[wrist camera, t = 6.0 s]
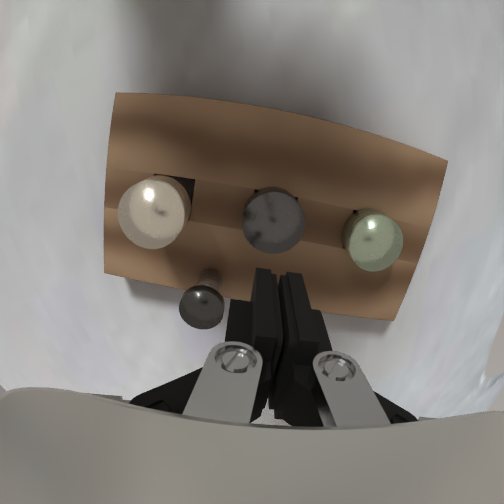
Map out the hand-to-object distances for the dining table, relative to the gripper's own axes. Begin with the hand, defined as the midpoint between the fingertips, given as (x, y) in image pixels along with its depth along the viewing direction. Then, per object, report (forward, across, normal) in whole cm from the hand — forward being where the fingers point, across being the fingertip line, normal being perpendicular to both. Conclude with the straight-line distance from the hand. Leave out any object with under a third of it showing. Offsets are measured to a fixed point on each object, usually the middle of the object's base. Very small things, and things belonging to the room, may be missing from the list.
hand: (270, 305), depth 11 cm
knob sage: (+16, -9, +1) cm, 18 cm away
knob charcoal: (+16, -1, 0) cm, 16 cm away
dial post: (+14, +4, +7) cm, 16 cm away
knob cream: (+13, +7, 0) cm, 15 cm away
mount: (+17, -1, 0) cm, 17 cm away
